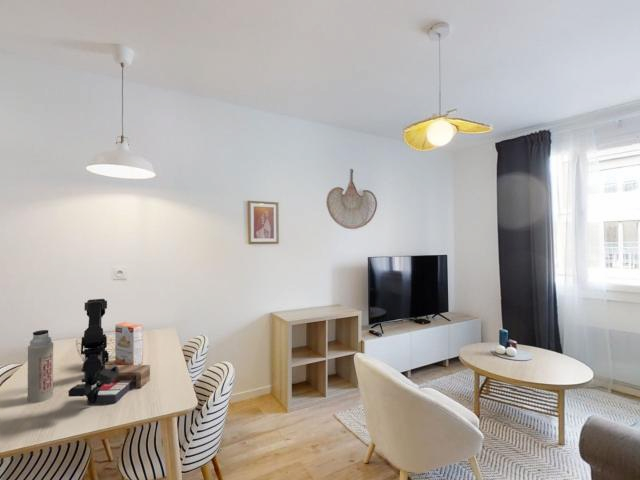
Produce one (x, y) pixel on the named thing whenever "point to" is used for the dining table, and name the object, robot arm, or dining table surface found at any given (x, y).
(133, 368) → the overhang shelf
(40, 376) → the thermos bottle
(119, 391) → the calculator
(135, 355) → the cracker box
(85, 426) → the dining table surface
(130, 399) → the dining table surface
